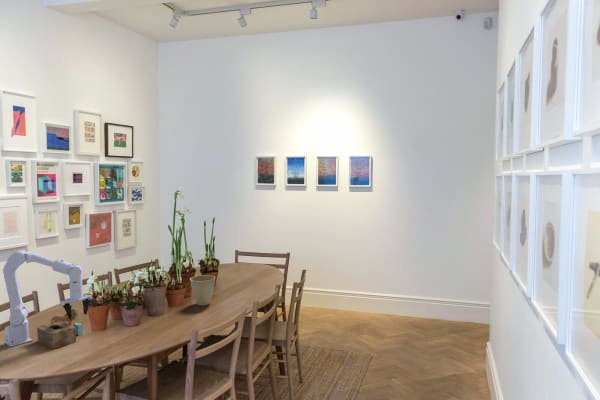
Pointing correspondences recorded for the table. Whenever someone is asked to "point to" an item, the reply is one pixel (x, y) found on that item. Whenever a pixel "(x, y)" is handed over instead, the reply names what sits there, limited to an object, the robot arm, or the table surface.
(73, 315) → the lion figurine
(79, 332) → the cylinder
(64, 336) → the box
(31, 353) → the table surface
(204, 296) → the plant pot
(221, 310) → the table surface
